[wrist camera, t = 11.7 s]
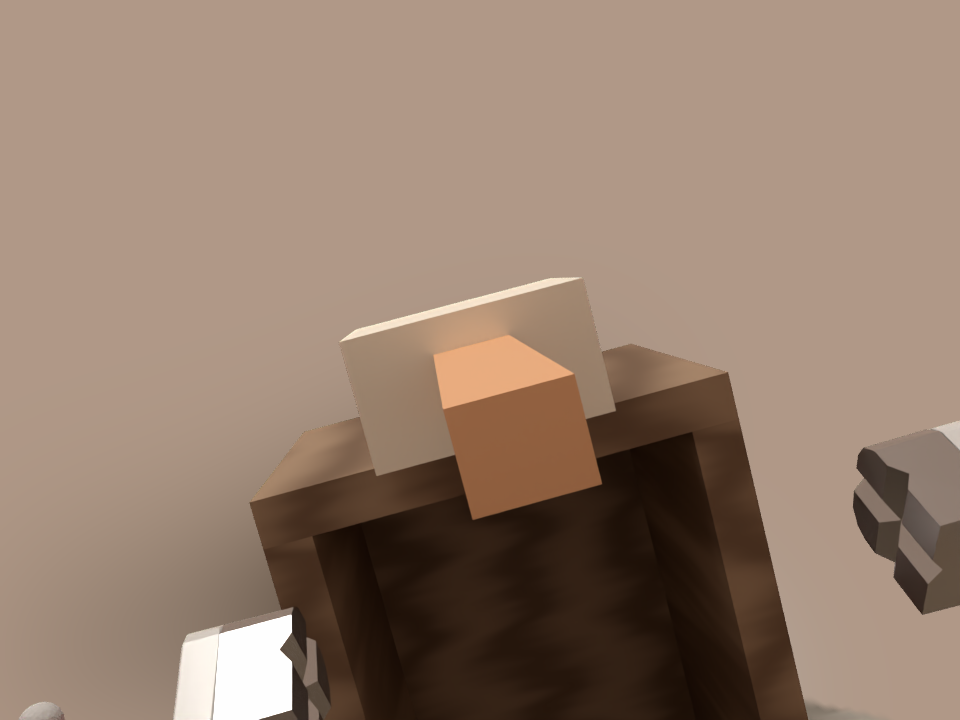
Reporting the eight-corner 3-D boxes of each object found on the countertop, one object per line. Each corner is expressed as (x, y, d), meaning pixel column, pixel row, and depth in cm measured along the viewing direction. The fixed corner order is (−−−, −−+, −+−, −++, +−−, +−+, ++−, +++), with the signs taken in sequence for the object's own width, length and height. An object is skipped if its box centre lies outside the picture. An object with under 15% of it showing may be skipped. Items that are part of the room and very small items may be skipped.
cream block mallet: (344, 618, 18) (277, 387, 17) (385, 436, 38) (356, 329, 38) (756, 503, 18) (703, 274, 17) (576, 384, 39) (549, 278, 38)
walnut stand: (419, 1072, 36) (247, 495, 34) (419, 832, 52) (302, 426, 50) (858, 938, 37) (726, 365, 35) (727, 742, 53) (629, 339, 50)
